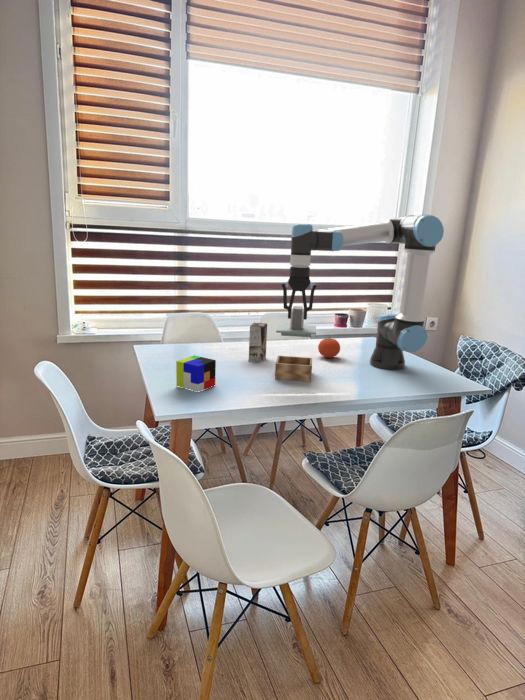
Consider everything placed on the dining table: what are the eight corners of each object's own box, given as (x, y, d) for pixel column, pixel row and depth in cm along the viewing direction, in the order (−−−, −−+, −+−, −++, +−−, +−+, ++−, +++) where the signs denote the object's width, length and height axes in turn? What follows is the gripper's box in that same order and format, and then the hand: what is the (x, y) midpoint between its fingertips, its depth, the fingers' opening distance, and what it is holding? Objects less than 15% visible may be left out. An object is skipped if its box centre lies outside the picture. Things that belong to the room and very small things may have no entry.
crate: (310, 374, 192) (312, 357, 191) (310, 383, 181) (312, 366, 179) (277, 371, 194) (277, 355, 192) (274, 380, 182) (275, 363, 180)
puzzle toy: (197, 393, 165) (198, 366, 163) (176, 387, 170) (176, 361, 168) (215, 386, 174) (215, 360, 171) (194, 380, 179) (194, 355, 176)
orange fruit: (339, 355, 223) (341, 335, 220) (339, 361, 213) (341, 340, 210) (318, 353, 224) (319, 333, 222) (316, 359, 215) (318, 338, 212)
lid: (315, 331, 188) (317, 305, 186) (315, 338, 176) (317, 311, 173) (278, 329, 190) (279, 304, 187) (276, 336, 177) (277, 309, 174)
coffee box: (262, 363, 205) (263, 327, 201) (248, 361, 206) (249, 325, 202) (266, 357, 214) (267, 323, 210) (252, 356, 215) (253, 322, 211)
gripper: (322, 266, 179) (318, 326, 185) (278, 264, 180) (276, 324, 186) (322, 268, 172) (318, 330, 178) (277, 266, 173) (274, 328, 179)
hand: (296, 327), depth 182 cm, fingers closed on lid, 3 cm apart
